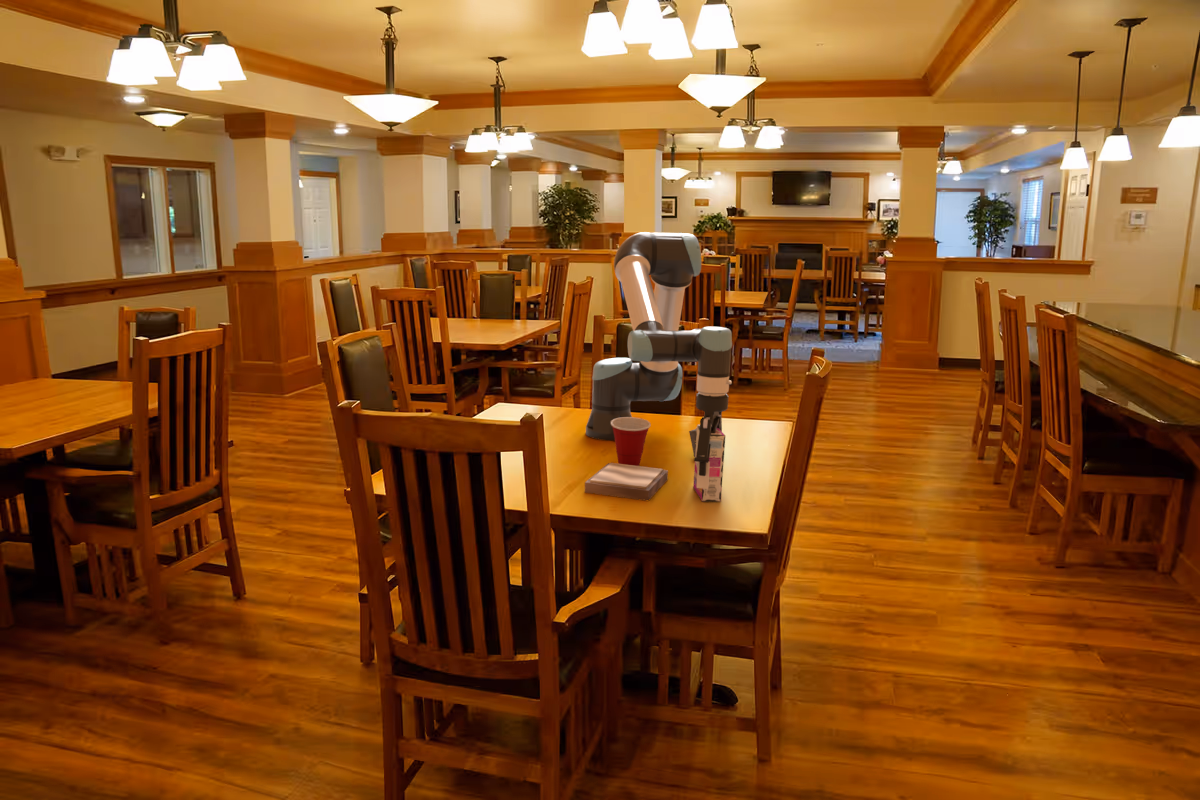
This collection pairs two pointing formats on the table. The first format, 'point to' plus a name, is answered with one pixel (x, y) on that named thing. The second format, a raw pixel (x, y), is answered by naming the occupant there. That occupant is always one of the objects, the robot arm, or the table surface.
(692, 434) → the electrical switch
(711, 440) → the candy bar box
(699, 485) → the robot arm
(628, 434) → the plastic cup
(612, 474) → the pale flat square slab
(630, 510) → the table surface
